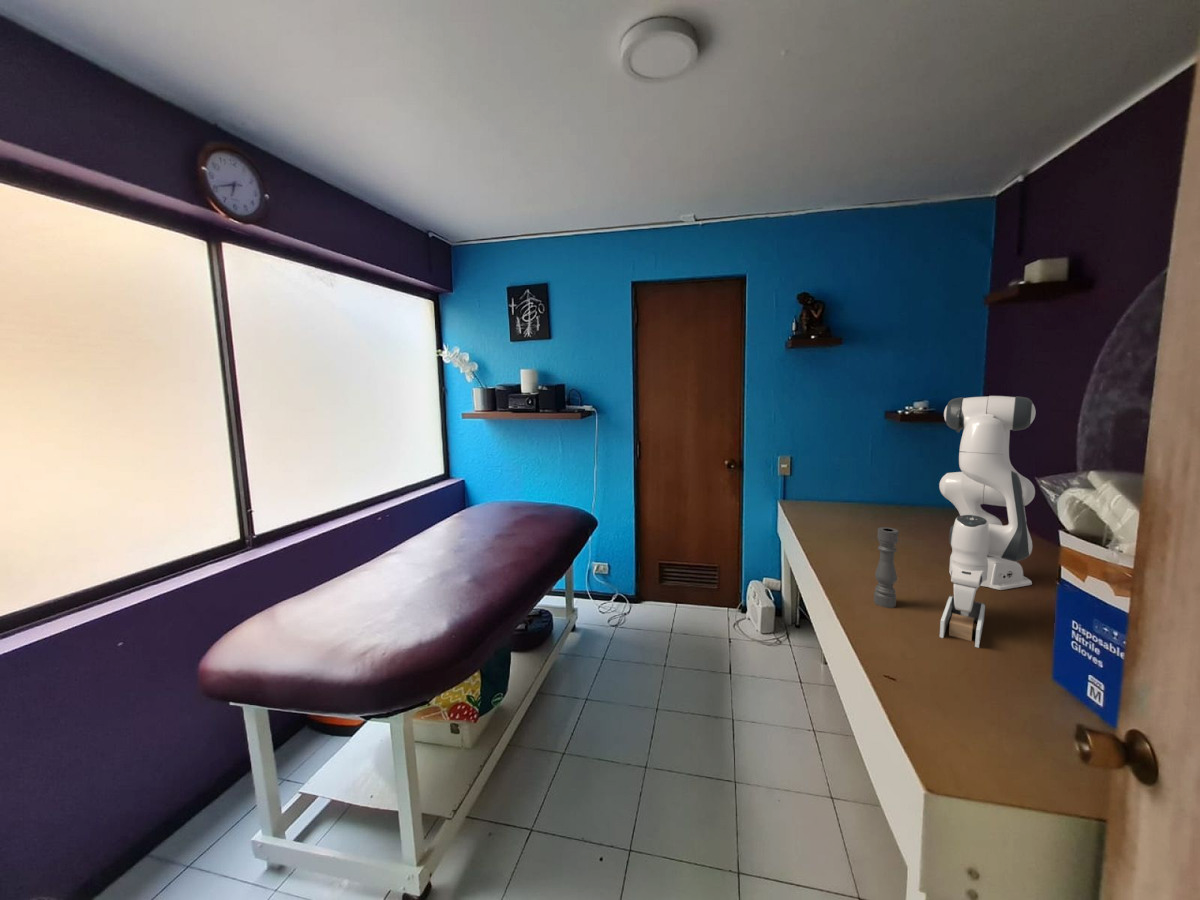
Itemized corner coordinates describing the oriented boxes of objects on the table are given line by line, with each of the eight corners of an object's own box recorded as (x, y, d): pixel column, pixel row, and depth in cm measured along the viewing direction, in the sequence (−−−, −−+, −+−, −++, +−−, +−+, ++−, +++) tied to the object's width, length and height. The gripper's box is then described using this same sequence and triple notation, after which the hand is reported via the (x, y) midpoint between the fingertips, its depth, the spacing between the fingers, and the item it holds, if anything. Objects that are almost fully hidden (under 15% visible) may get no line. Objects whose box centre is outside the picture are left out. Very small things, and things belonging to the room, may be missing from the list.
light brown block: (951, 625, 136) (952, 613, 135) (973, 631, 133) (974, 618, 132) (948, 635, 131) (949, 622, 130) (971, 641, 127) (972, 628, 127)
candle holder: (888, 609, 147) (892, 534, 143) (869, 601, 152) (872, 529, 149) (899, 604, 149) (903, 530, 146) (880, 597, 155) (884, 525, 152)
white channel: (948, 610, 144) (949, 595, 144) (983, 619, 139) (985, 603, 138) (939, 637, 130) (940, 620, 129) (978, 647, 124) (980, 630, 123)
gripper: (958, 557, 146) (955, 599, 148) (950, 578, 131) (947, 624, 133) (984, 562, 141) (981, 604, 143) (979, 584, 127) (975, 631, 128)
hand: (964, 614), depth 138 cm, fingers closed
